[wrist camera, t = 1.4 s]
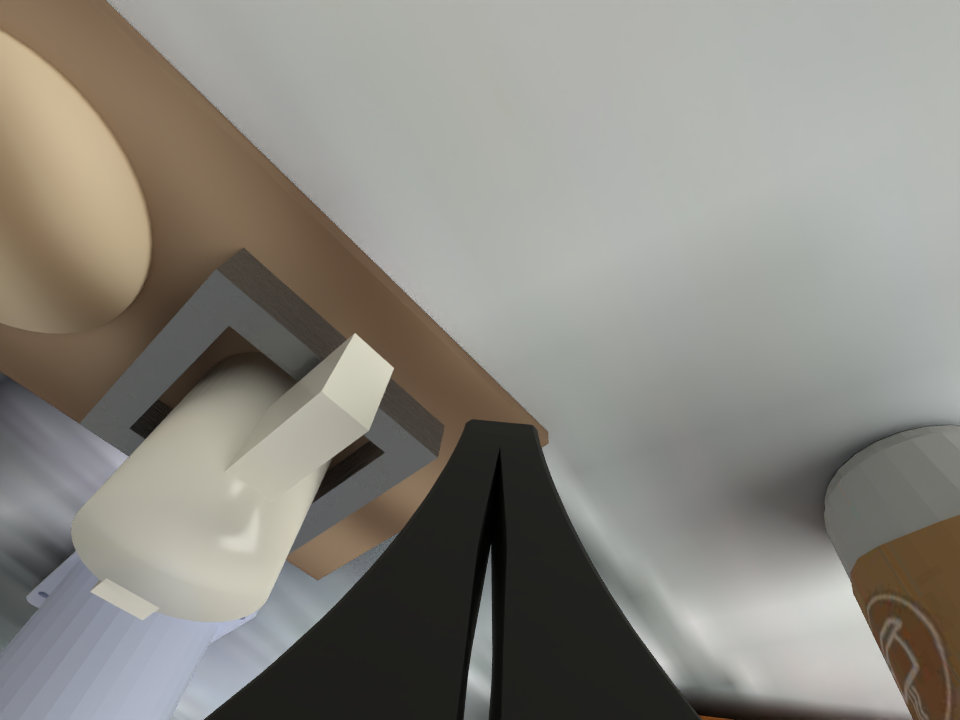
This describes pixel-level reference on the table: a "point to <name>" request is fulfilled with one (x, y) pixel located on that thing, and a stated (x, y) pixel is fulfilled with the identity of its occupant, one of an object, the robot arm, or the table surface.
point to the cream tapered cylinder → (225, 485)
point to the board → (216, 238)
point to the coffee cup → (906, 558)
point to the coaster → (63, 204)
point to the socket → (297, 350)
